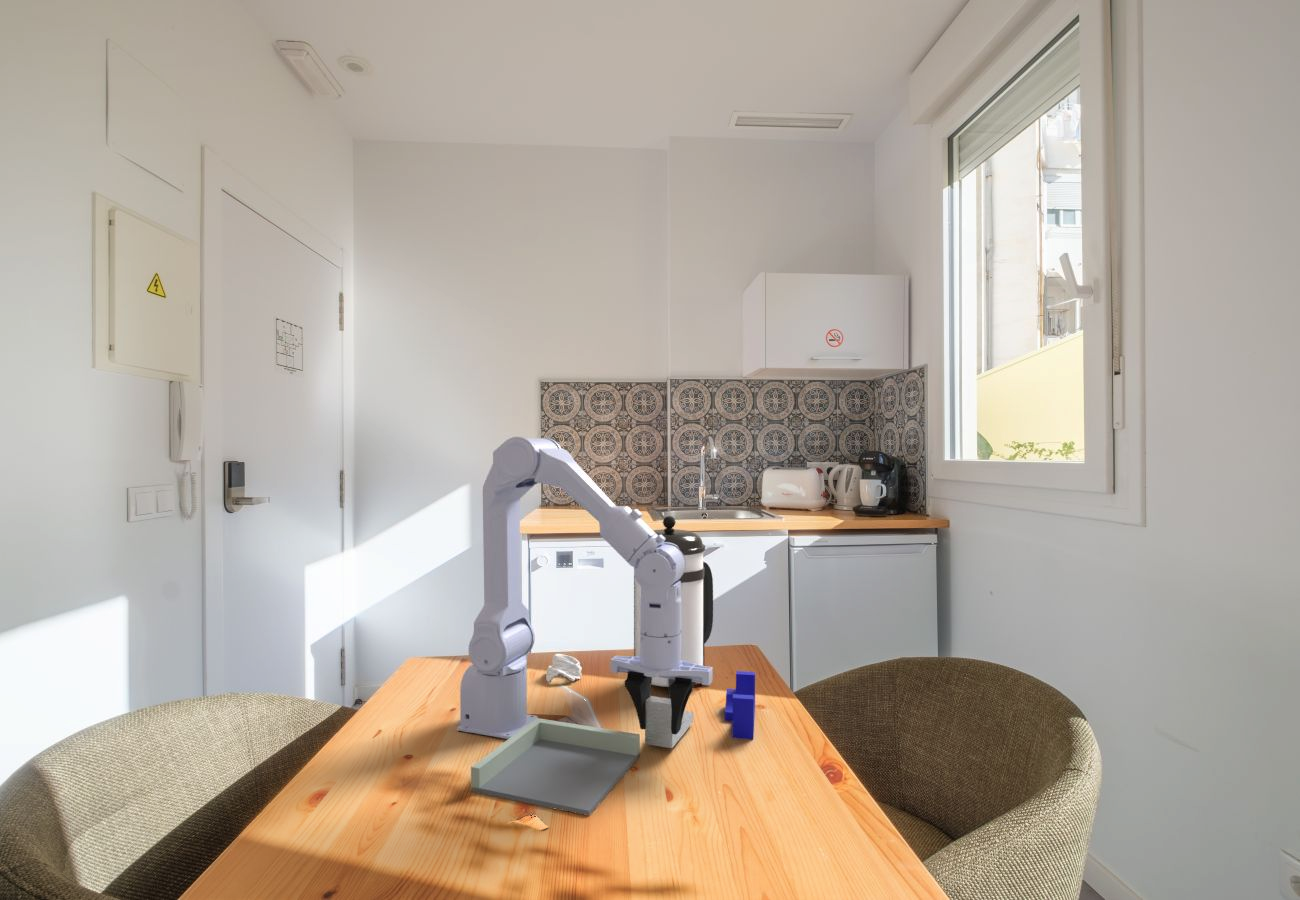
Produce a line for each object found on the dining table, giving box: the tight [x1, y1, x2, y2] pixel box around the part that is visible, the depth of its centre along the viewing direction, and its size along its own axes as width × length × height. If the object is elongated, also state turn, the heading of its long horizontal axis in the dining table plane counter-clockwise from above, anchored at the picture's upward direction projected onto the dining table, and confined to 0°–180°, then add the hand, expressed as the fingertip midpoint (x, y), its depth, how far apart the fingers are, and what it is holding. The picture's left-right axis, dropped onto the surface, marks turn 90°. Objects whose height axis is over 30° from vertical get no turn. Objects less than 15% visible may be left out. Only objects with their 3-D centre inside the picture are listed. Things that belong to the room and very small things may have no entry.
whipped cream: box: [545, 653, 583, 684], centre depth 124 cm, size 8×7×5 cm
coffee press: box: [633, 515, 714, 699], centre depth 121 cm, size 17×16×30 cm
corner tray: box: [470, 717, 641, 816], centre depth 88 cm, size 16×16×3 cm
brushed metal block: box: [644, 695, 694, 749], centre depth 99 cm, size 10×4×6 cm, turn 160°
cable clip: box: [724, 670, 756, 740], centre depth 104 cm, size 12×4×6 cm, turn 170°
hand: (660, 728), depth 95 cm, fingers closed on brushed metal block, 4 cm apart
